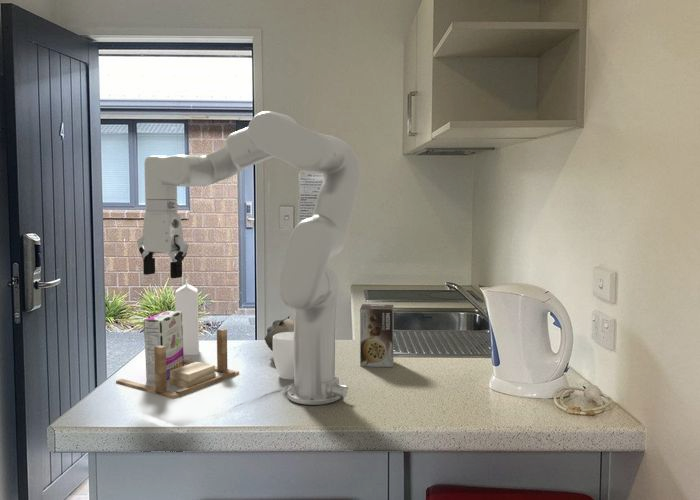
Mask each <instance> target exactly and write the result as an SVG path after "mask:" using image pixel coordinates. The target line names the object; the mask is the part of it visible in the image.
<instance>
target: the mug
mask: <svg viewBox="0 0 700 500" xmlns="http://www.w3.org/2000/svg"><path fill="white" fill-rule="evenodd" d="M272 357H273V359H274V361H273V362H274V366H275V368H276V371H277V373H278V376H279V378H280V379H283V380H294V332H282V333H277V334H275V335H274V336H273V351H272Z"/></svg>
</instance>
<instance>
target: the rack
mask: <svg viewBox="0 0 700 500" xmlns="http://www.w3.org/2000/svg"><path fill="white" fill-rule="evenodd" d="M154 356H155V383H154V385H155V386H151V385H146V384H143V383H140V382H139V383H138V382H135V381H132V380H129V379H125V378H119V379H116V380H115V383H116V384H119V385H123V386H127V387H129V388H135V389H137V390H138V389H139V390H140V391H144V392H148V393H152V394H157V395H160V396H164V397H168V398H170V399H176V398H178V397H181V396H184V395H187V394H191V393H192V392H195V391H198V390H200V389H203V388H206V387H208V386H211V385H214V384H217V383H220V382H222V381H224V380H227V379H230V378H233V377H236V376H238V375H240V371H238V370H233V369H230V368H228V329H227V328H226V329H225V328H218V329H216V358H217V360H216V361H217V362H216V364H217V366H216V365H215V372H217V373H222V374H220V375H217V376H216V377H213V378H211V379H208V380H205V381H202V382H200V383H197V384H194V385H191V386H189V387H186V388H180V389H178V390H176V391H175V392H174V391H169V390H168V385H167V384H168V383H167V382H168V380H167V375H166V346H161V345H159V346H155V347H154ZM194 362H195V361H194V360H188V359H184V365H188V364H191V363H194Z"/></svg>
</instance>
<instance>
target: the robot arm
mask: <svg viewBox="0 0 700 500" xmlns="http://www.w3.org/2000/svg"><path fill="white" fill-rule="evenodd" d="M226 137H227V138H226V140H225V141H226V143H225V145H224V146H223V147H221V148H219V149H217V150H215V151H211V152H210V153H207V154H204V155H193V154H192V155H190V154H175V155H174V154H173V155H170V156H169V155H168V156H167V155H149V156H146V158H145V160H144V164H143V165H144V198H145V199H144V202H145V204H144V205H145V206H144V207H145V212H144V216H143V223H142V226H143V227H142V236H141V237H140V238H138V239H137V240H136V244H137V246H138V252H139V253H140V255H141V256H140V257H141V259H142V261H143V263H142V264H143V265H142V266H143V267H142V269H143V275H145V276H146V275H147V276H148V275H154V274H156V257H155V254H163V255H166V254H167V255H168V256H169V258H170V259H171V261H170V265H169V267H170V269H169V270H170V272H169V273H170V278H171V279H179V278H182V277H183V262H184V260H185V257H186V256H187V253H188V249H189V248H190V245H189V243H187V242H186V241H185V240H184V231H183V224H182V223H183V222H182V218H181V214H180V212H178V208H179V203H178V187H183V188H185V187H188V188H191V187H207V186H211V185H214V184H216V183H219V182H221V181H225V180H226V179H229V178H232V177H234V176H235V175H238V173H241V172H242V171H243V170H245V169H247V168H249V167H251V166H255V165H257V164H259V163H262V162H264V161H267V160H270V159H273V158H275V159H278V160H280V161H281V162H284V163H286V164H288V165H290V166H292V167H294V168H296V169H299V170H301V171H304V172H306V173H312V174H315V173H316V174H323V181H322V184H321V186H320V188H319V190H318V191H317V192H318V193H317V196H316V199H315V200H316V201H315V203H314V204H315V205H314V208H313V212H312V215H311V217H308V218H305V219H302V220H301V221H300V222H298V223H297V224H296V225H295V227H294V228H293V230H292V232H291V234H290V236H289V239H288V242H287V246H286V250H285V255H284V259H283V263H282V267H281V271H280V274H279V278H278V279H279V280H278V293H279V297H280V299H281V301H282V302H283V304H285V306H287V307H289V309H292V310H294V315H293V318H294V319H293V321H294V379H293V386H291V387H289V389H288V390H287V393H286V397H287V399H288V400H290V401H291V402H293V403H296V404H300V405H307V406H309V405H310V406H316V405H317V406H319V405H327V404H331V403H334V402H337V401H338V400H340V399H341V397H342V398H346V397H347V394H348V391H349V386H348V385H345V384H340V377H337V376H336V312H337V301H338V294H339V278H338V275H337V272H336V270H335V269H334V267H332V266H331V264H329V259H330V258H332V257H335V256H336V255H337V256H338V254H339V253H341V251H342V250H343V249H344V247H345V243H346V241H347V236H348V232H349V228H350V225H351V220H352V217H353V213H354V207H355V203H356V200H357V195H358V192H359V188H360V184H361V178H362V177H361V165H360V162H359V161H360V160H359V158H358V156H357V155H356V153H355V152H354V150H353V149H352V147H351V146H349V145H348V143H346V142H345V141H344V140H342V139H340V138H339V137H336V136H334V135H330V134H325V133H321V132H320V133H319V132H316V131H314V130H311V129H308V128H307V127H305V126H302V125H299V124H298V123H297V122H296V120H295V119H293V117H291V116H289V115H287V114H285V113H281V112H280V113H279V112H276V111H272V110H271V111H270V110H264V111H261V112H259V113H257V114H255V115H254V116H253V117H252V118H251V120H250V121H249V123H248V126H247V127H244V128H242V129H238V130H237V131H234V132H232V133H230V134H228V135H227V136H226Z"/></svg>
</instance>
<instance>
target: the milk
mask: <svg viewBox="0 0 700 500" xmlns="http://www.w3.org/2000/svg"><path fill="white" fill-rule="evenodd" d="M174 303H175V305H174V307H175V310H174V311H181V312H182V330H183V356H184V357H186V356H195V355H196V356H199V354H200V334H199V333H200V329H199V327H200V326H199V322H200V321H199V289H198V288H197V287H195V286H193V285H192V284H189V283H188V278H186V279H185V284H184V285H183V284H182V286H180V287H179V288H177V289H176V290H175V292H174Z"/></svg>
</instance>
